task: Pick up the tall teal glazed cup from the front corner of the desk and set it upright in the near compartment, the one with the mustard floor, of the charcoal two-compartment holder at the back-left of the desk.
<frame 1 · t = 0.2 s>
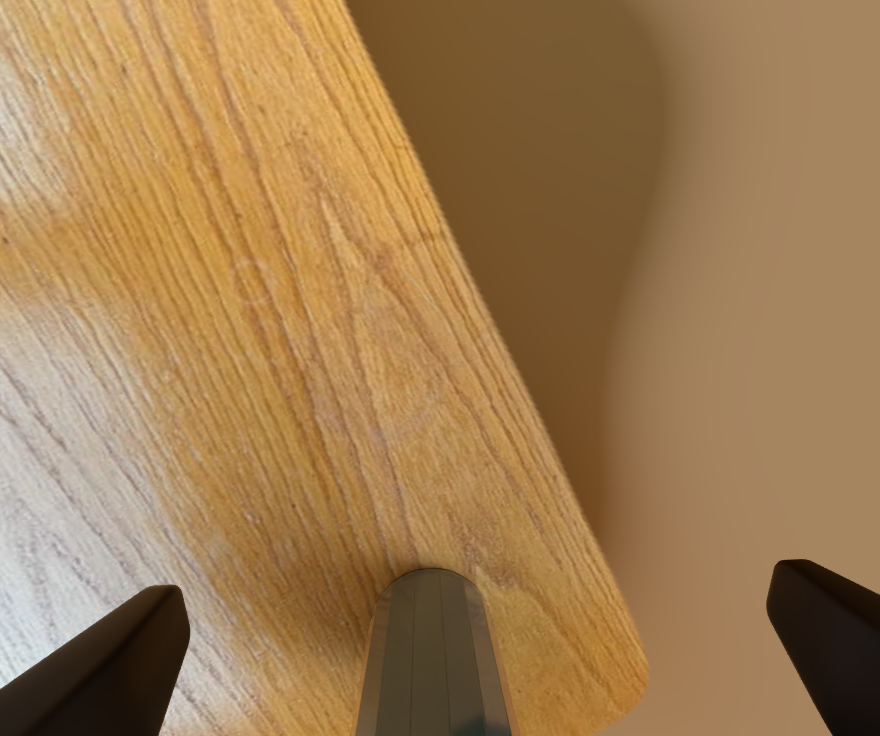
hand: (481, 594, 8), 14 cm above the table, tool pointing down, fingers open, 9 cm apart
cup: (431, 625, 23), on the table
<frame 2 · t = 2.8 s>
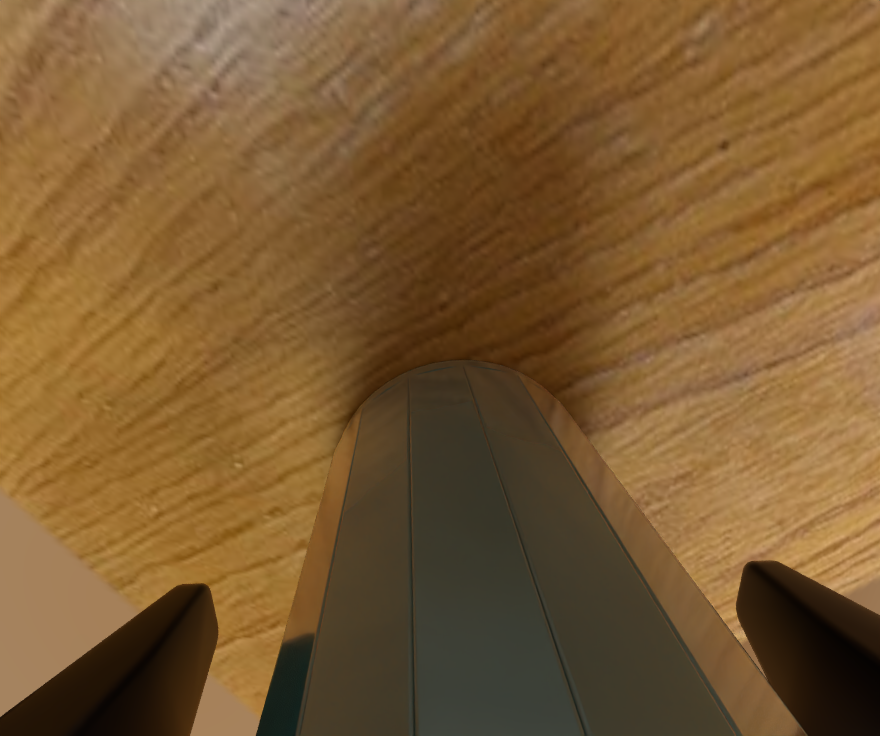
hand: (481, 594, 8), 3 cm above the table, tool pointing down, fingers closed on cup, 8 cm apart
cup: (458, 476, 11), on the table, touching gripper
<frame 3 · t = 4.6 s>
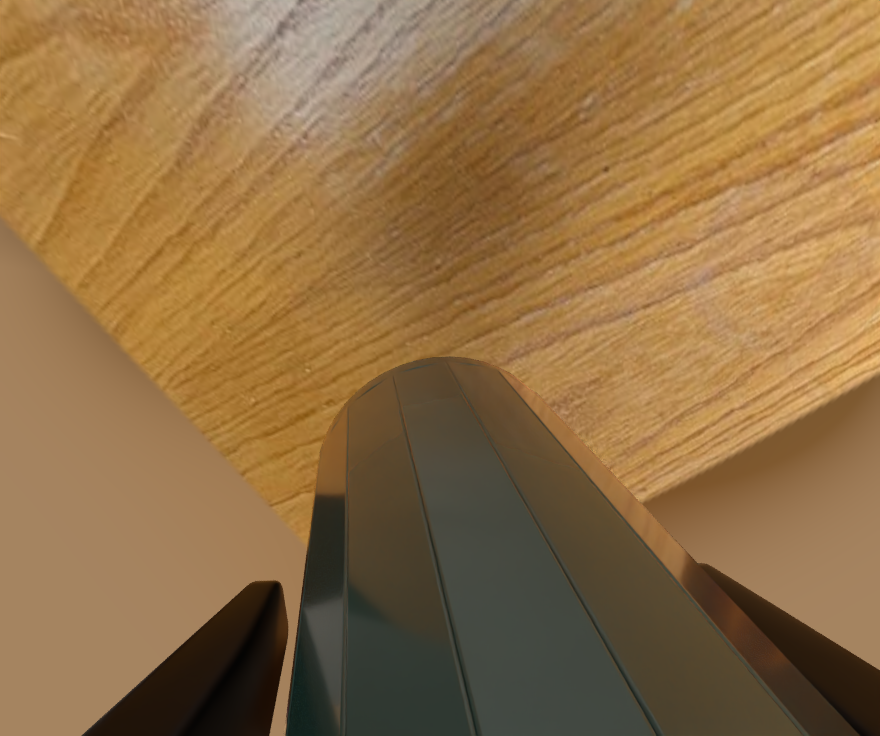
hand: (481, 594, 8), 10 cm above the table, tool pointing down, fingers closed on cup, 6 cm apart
cup: (441, 470, 11), point 6 cm above the table, tilted 8°, touching gripper
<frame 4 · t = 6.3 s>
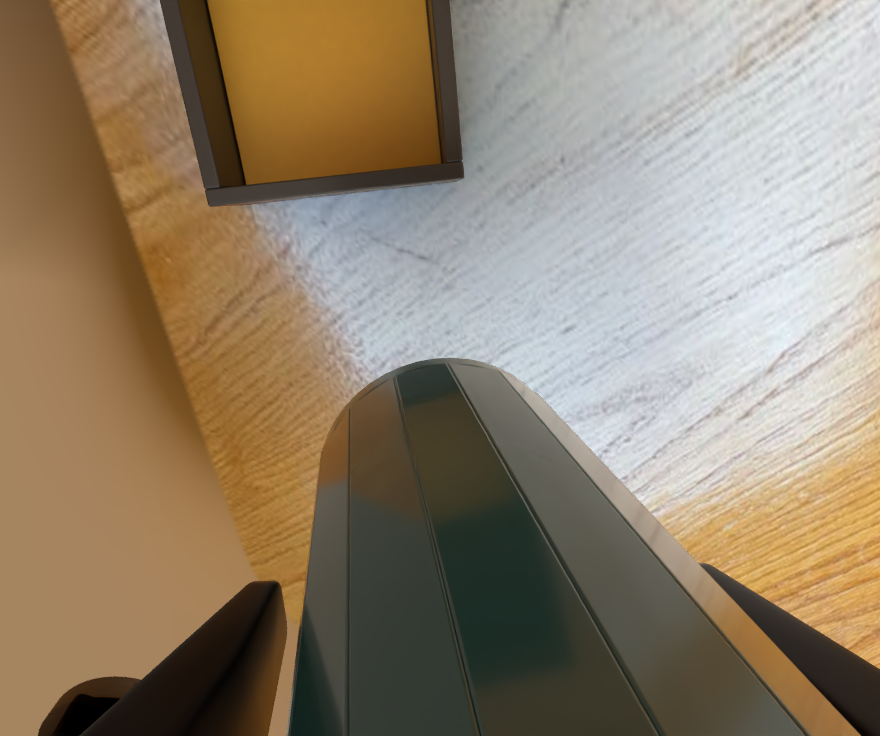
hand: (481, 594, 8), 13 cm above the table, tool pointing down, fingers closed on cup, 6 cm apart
cup: (442, 472, 11), point 10 cm above the table, tilted 7°, touching gripper
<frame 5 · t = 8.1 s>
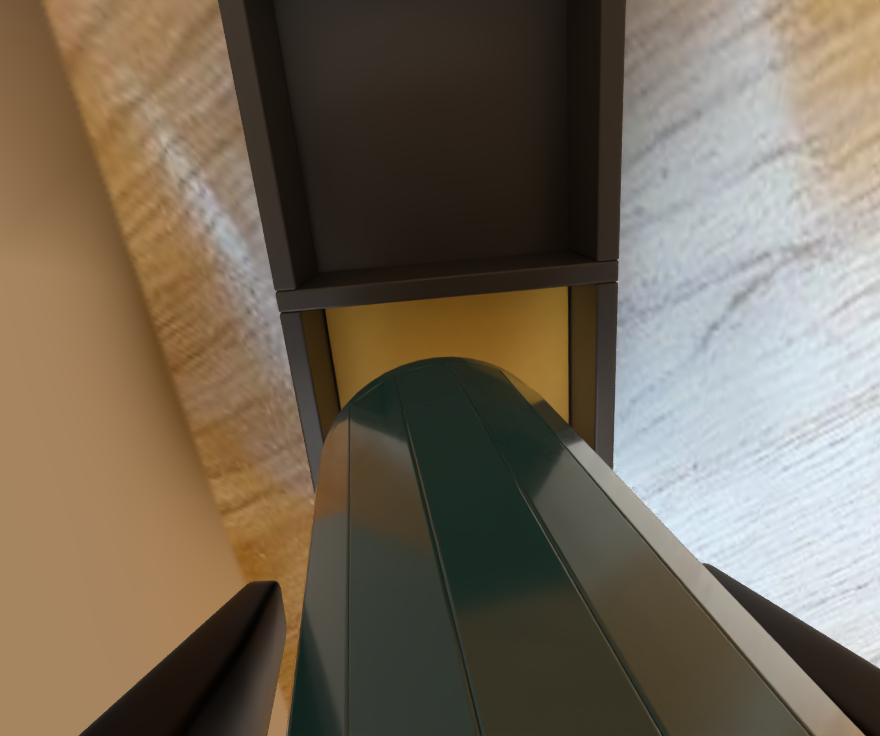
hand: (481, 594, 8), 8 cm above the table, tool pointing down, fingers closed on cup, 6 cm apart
cup: (442, 471, 11), point 5 cm above the table, tilted 8°, touching gripper
holder: (443, 268, 14), on the table
when the fingers open (5 cm above the table, at t = 9.5 s): cup stays where it is, resting on holder.
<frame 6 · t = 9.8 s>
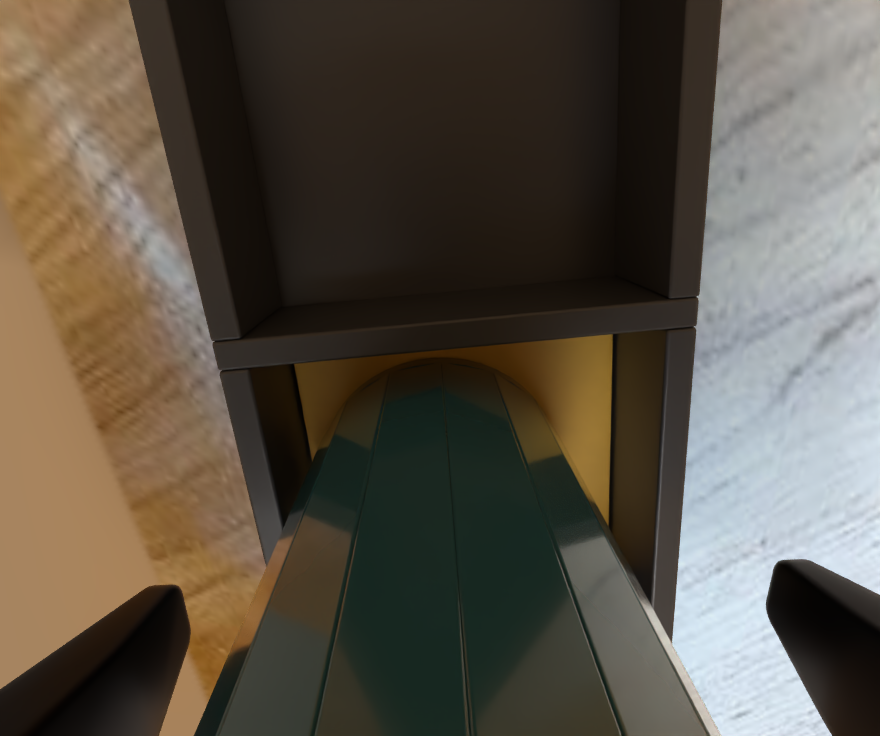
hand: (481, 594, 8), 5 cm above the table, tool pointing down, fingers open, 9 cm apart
cup: (440, 468, 12), point 1 cm above the table, touching holder
holder: (448, 298, 11), on the table
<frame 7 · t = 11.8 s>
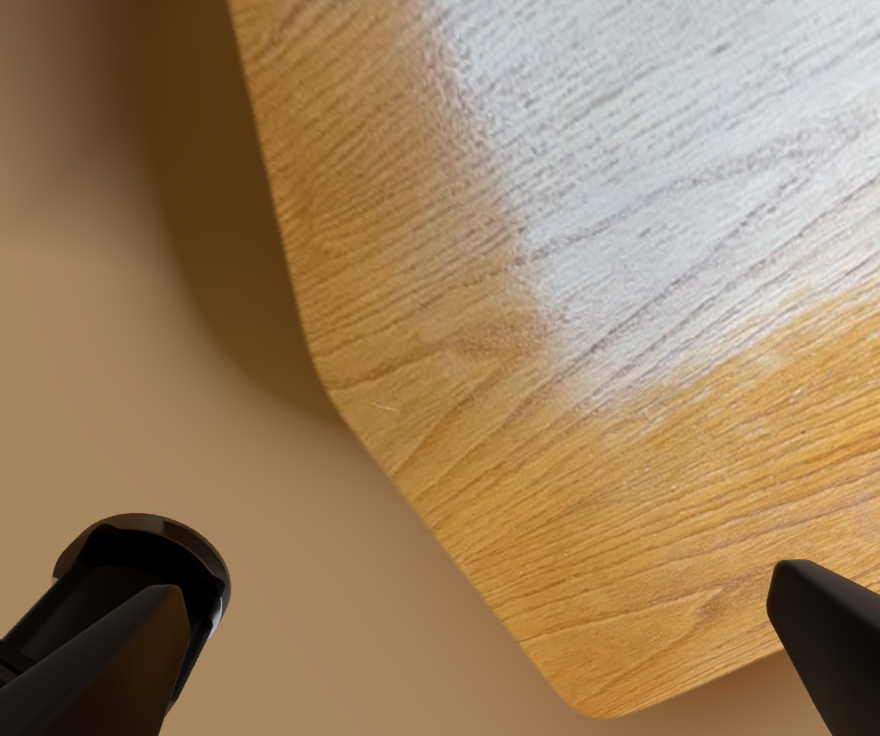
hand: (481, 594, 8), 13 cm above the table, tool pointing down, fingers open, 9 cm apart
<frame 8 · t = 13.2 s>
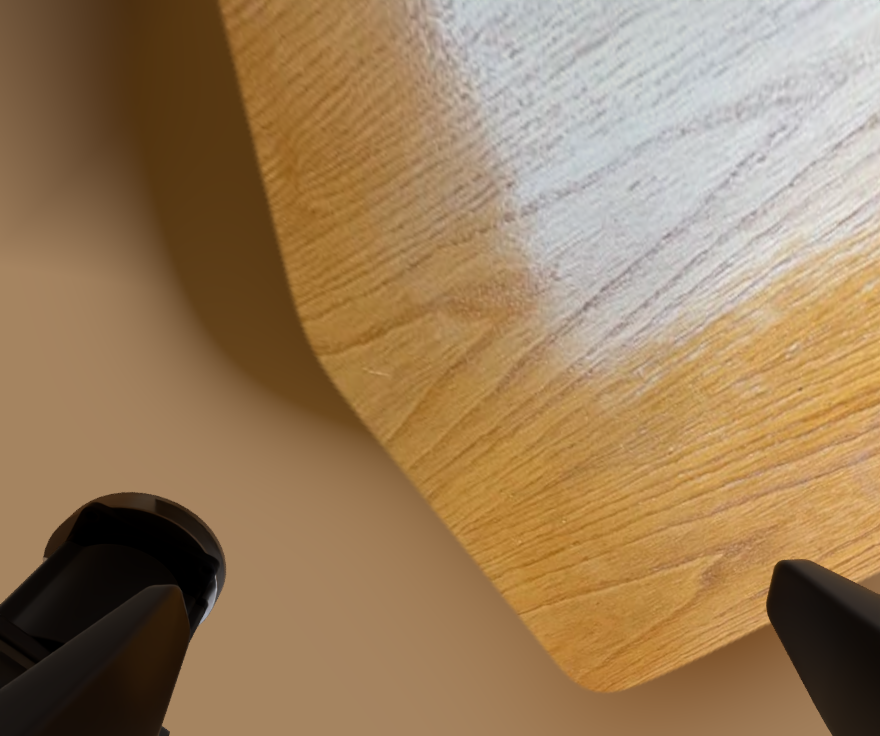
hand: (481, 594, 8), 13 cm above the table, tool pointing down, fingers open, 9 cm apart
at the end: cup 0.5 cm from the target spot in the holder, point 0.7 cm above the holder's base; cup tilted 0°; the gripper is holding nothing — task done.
